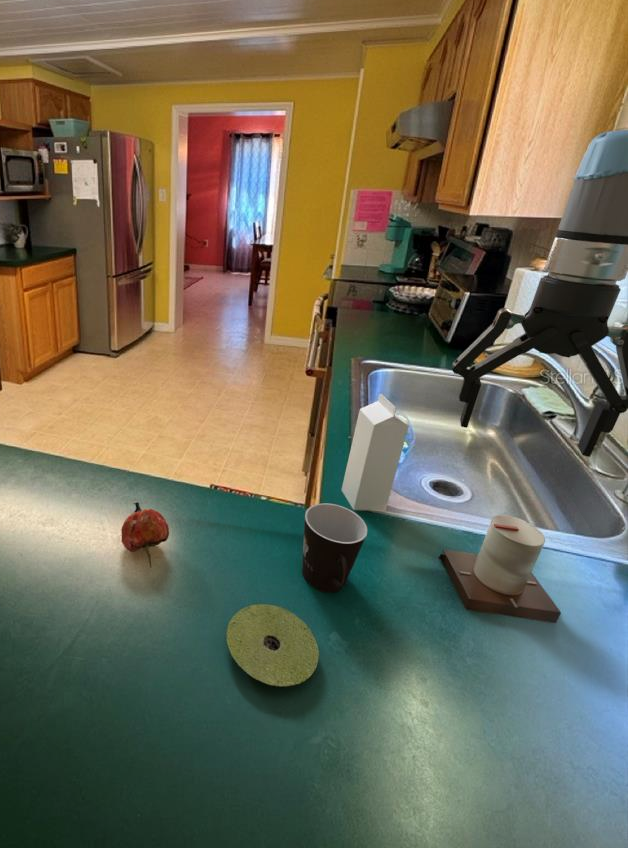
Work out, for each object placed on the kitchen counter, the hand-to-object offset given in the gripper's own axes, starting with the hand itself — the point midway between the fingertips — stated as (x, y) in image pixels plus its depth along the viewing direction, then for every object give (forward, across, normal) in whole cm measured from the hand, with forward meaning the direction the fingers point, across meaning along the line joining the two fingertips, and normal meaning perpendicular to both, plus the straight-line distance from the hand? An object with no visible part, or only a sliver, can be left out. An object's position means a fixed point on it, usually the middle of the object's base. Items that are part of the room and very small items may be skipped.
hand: (520, 437), depth 63 cm
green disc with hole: (+25, -23, -28) cm, 44 cm away
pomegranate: (+25, -46, -21) cm, 56 cm away
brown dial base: (+25, +4, 0) cm, 25 cm away
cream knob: (+23, +4, 0) cm, 23 cm away
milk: (+25, -17, +9) cm, 32 cm away
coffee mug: (+25, -20, -13) cm, 34 cm away
